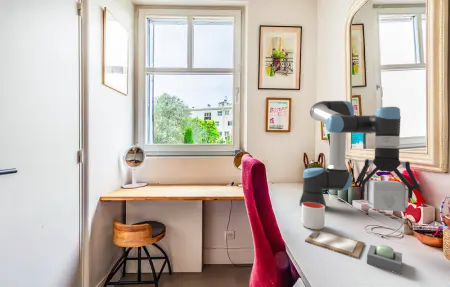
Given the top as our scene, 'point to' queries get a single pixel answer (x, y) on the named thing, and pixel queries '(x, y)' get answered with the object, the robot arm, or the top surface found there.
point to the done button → (385, 251)
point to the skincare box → (386, 195)
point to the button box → (385, 260)
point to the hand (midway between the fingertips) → (385, 203)
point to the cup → (313, 215)
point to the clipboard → (336, 243)
